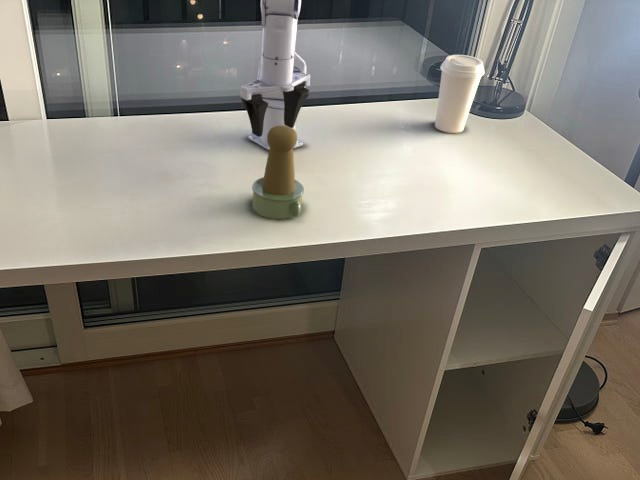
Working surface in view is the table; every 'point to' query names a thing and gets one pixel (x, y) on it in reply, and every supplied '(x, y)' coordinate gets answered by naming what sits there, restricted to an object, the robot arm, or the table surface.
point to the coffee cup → (457, 91)
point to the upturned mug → (277, 202)
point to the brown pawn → (280, 161)
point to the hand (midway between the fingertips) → (273, 130)
